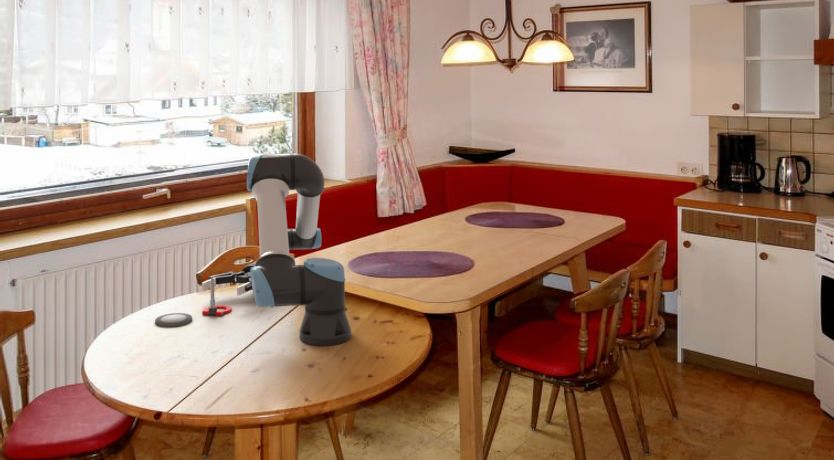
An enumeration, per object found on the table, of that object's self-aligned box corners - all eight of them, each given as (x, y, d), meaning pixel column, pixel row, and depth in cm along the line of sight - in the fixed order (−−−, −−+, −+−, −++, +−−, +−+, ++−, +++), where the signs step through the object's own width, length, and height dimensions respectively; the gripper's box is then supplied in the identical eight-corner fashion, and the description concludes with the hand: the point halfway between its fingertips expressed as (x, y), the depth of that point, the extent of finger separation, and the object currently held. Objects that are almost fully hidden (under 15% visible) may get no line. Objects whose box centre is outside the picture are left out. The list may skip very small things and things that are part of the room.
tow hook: (211, 307, 246) (199, 315, 237) (210, 269, 244) (198, 276, 235) (235, 309, 245) (224, 317, 236) (235, 271, 243) (223, 277, 234)
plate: (185, 327, 226) (185, 324, 226) (149, 326, 226) (149, 324, 226) (196, 315, 237) (196, 312, 236) (162, 315, 237) (162, 312, 236)
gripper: (287, 287, 258) (253, 304, 239) (226, 279, 267) (189, 295, 247) (286, 266, 256) (252, 282, 237) (225, 259, 265) (188, 274, 246)
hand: (220, 289), depth 242 cm, fingers open, 13 cm apart
